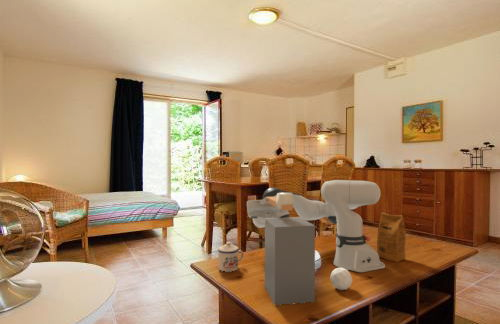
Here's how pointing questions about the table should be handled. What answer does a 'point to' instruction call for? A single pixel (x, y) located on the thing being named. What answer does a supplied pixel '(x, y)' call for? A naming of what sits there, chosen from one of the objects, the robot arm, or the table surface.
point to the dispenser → (290, 260)
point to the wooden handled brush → (282, 201)
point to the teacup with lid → (229, 257)
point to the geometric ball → (341, 278)
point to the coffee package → (391, 237)
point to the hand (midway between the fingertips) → (272, 199)
